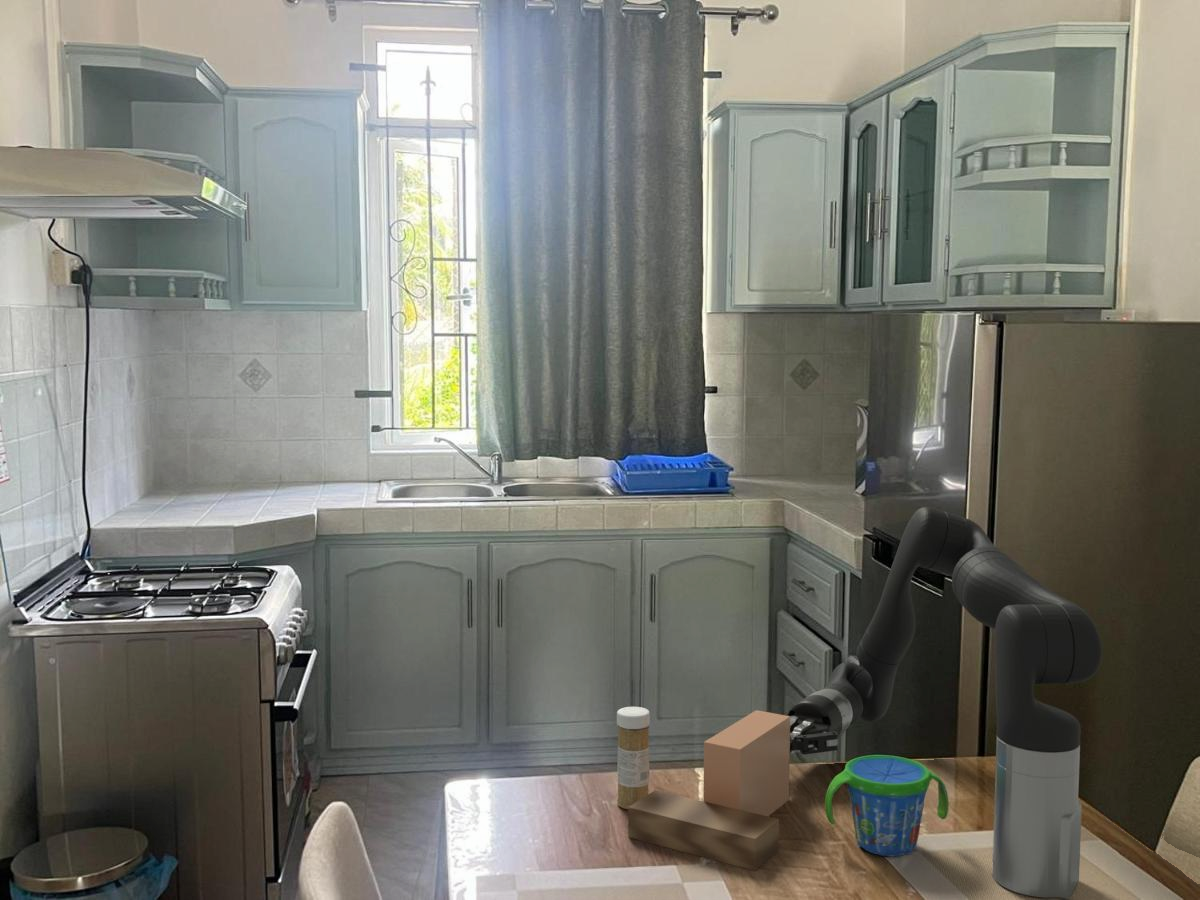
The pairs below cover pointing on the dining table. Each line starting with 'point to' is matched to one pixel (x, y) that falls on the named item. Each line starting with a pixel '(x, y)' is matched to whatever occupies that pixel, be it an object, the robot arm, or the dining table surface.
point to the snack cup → (886, 801)
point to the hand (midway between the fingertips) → (773, 751)
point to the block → (749, 764)
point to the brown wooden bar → (704, 829)
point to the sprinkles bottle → (633, 755)
